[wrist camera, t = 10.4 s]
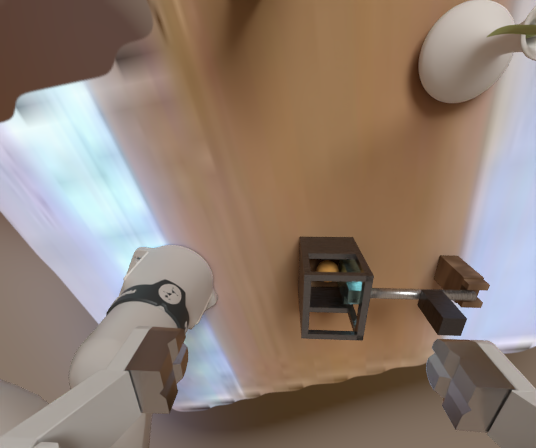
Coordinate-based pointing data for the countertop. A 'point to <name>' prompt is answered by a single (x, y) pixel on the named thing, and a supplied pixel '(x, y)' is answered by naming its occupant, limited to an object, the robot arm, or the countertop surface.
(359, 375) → the countertop surface
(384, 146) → the countertop surface
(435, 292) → the rod
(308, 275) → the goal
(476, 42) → the flower in vase
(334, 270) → the ball
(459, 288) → the rod cradle
